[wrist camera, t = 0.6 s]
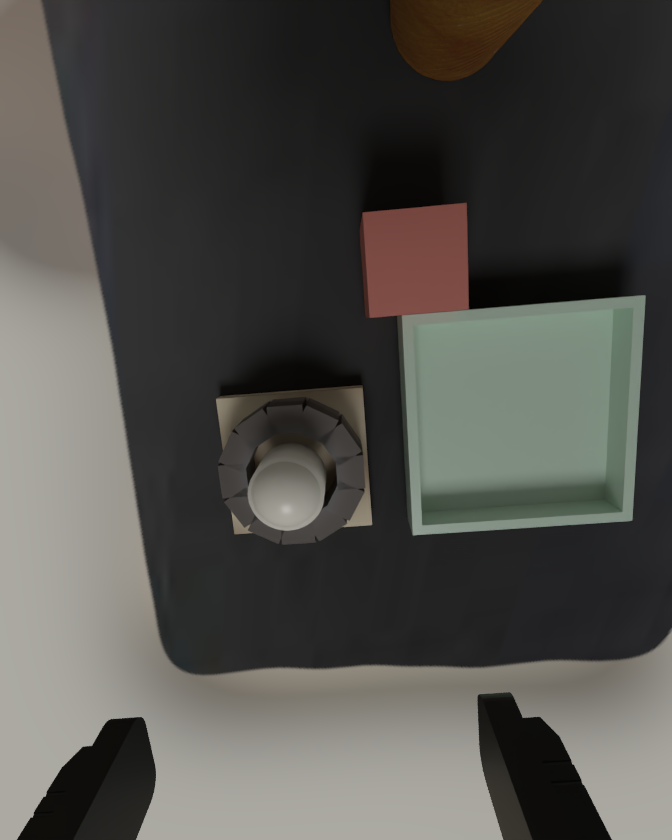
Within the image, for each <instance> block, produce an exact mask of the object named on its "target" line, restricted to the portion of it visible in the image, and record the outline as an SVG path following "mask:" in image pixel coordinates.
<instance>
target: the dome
mask: <svg viewBox="0 0 672 840" xmlns="http://www.w3.org/2000/svg"><path fill="white" fill-rule="evenodd" d="M325 486H326V469H325V465H324V463H323V461H322V459H321V458H320V456H319V455H318V454H317V453H316V452H315V451H314V450H312V449H311V448H309V447H307V446H305V445H302V444H298V443H284V444H280V445H278V446H276V447H274V448H272V449H271V450H270V451H268V452H267V453H266V454H265V456H264V457H263V459H262V460H261V462H260V464H259V466H258V467H257V469H256V471H255V473H254V474H253V476H252V478H251V480H250V483H249V486H248V500H249V504H250V507H251V509H252V511H253V513H254V514H255V515H256V517H257V518H258V519H259V520H260V521H262V522H263V523H264V524H266V525H267V526H269V527H272V528H274V529H278V530H284V531H290V530H296V529H300V528H302V527H305V526H307V525H308V524H310V523H311V522H312V521H313V520H314V519H315V518H316V517H317V516H318V515H319V513H320V511H321V509H322V507H323V503H324V495H325Z"/></svg>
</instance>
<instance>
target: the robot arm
mask: <svg viewBox="0 0 672 840" xmlns="http://www.w3.org/2000/svg"><path fill="white" fill-rule="evenodd" d="M478 722H479V745H480V755H481V761H482V767H483V772H484V776H485V780H486V783H487V787H488V790H489V793H490V797H491V800H492V803H493V806H494V810H495V813H496V816H497V819H498V823H499V826H500V830H501V833H502V836H503V839H504V840H612V839H611V837H610V835H609V834H608V832H607V830H606V828H605V826H604V824H603V822H602V820H601V818H600V816H599V814H598V812H597V810H596V808H595V806H594V804H593V802H592V800H591V798H590V796H589V794H588V792H587V790H586V788H585V786H584V785H583V784H582V782H581V779H580V776H579V774H578V772H577V770H576V768H575V766H574V765H572V762H571V759H570V757H569V755H568V753H567V751H566V749H565V747H564V745H563V743H562V741H561V739H560V737H559V736H558V735H557V734H556V733H555V732H554V731H553V730H552V729H551V728H550V727H549V726H548V725H547V724H546V723H545V722H544V721H543V720H542V719H541V718H540V717H533V718H522V715H521V713H520V711H519V708H518V706H517V704H516V702H515V700H514V697H513V696H512V694H511V693H494V694H480V695H478ZM155 781H156V769H155V763H154V759H153V755H152V750H151V745H150V741H149V737H148V732H147V728H146V724H145V721H144V719H143V718H142V717H136V718H122V719H111V720H109V721H107V722H106V723H105V725H104V726H103V728H102V730H101V731H100V733H99V735H98V737H97V738H96V740H95V742H94V744H93V746H87V747H82V748H81V749H80V750H79V752H77V753H76V754H75V755H74V756H73V757H72V758H71V759H70V760H69V761H68V762H67V763H66V764H65V765H64V766H63V767H62V769H61V770H60V772H59V773H58V775H57V776H56V778H55V780H54V781H53V783H52V784H51V786H50V787H49V789H48V791H47V794H46V797H43V799H42V800H41V802H40V804H39V805H38V807H37V808H36V810H35V812H34V816H33V818H30V820H29V821H28V823H27V824H26V826H25V828H24V829H23V831H22V832H21V834H20V836H19V837H18V839H17V840H136V838H137V835H138V833H139V830H140V828H141V825H142V823H143V820H144V818H145V815H146V813H147V810H148V808H149V805H150V803H151V800H152V797H153V793H154V788H155Z"/></svg>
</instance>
